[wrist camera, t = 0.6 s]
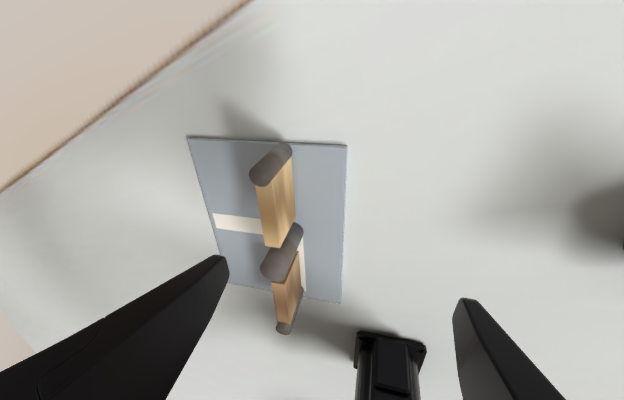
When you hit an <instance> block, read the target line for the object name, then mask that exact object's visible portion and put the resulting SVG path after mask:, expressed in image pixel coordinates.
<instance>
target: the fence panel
mask: <svg viewBox="0 0 624 400" xmlns="http://www.w3.org/2000/svg"><path fill="white" fill-rule="evenodd" d="M291 156H292V148H291V147H290V145H289V144H287V143H285V142H280V143H278V144H277V145H276V146H275V147H273V148H272V149H271V150H270V151H269V152H268V153H267V154H266V155H265V156H264V157H263V158H262V159H261V160H260V161H259V162H258V163H257V164H255V165H254V166H253V167H252V168H251V169H250V171H249V178H250V180H251V181H252V183H253V184H255V188H256V194H257V200H258V206H259V212H260V218H261V224H262V230H263V236H264V242H265V246H269V247H276V248H280V247H281V245H282V243H283V241H284V239H285V237H286V235H287V233H288V231H289V229H290V228H291V226H292V224H293V222H294V220H295V218H296V210H295V197H294V184H293V172H292V159H291Z"/></svg>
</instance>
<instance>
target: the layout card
mask: <svg viewBox="0 0 624 400" xmlns="http://www.w3.org/2000/svg"><path fill="white" fill-rule="evenodd" d="M187 140H188V144H189V147H190V151H191V154H192V158H193V161H194V164H195V168H196V171H197V175H198V178H199V182H200V185H201V188H202V192H203V195H204V199H205V202H206V206H207V209H208V212H209V216H210V219H211V223H212V226H213V230H214V233H215V237H216V240H217V243H218V247H219V250H220V254H221V256H224V257H225V258H226V260H227V264H228V267H229V271H230V276H229V279H228V281H229V283H232V284H237V285H242V286H248V287H253V288H258V289H263V290H269V291H273V290H272V284H271V282H272V281H271V280H269V279H267V278H265V277H264V276H263V275H262V273H261V272H260V265H261V263H262V262H263V260H264V258H265V256H266V255H267V253H268V251H269V249H270V247H269V246H265V242H264V236H263V230H262V224H261V218H260V212H259V206H258V200H257V194H256V188H255V184H253V183H252V181H251V180H250V178H249V171H250V169H251V168H252V167H253V166H254V165H255V164H257V163H258V162H259V161H260V160H261V159H262V158H263V157H264V156H265V155H266V154H267V153H268V152H269V151H270V150H271V149H272V148H273V147H275V146H276V145H277V144H278V143H280V142H266V141H247V140H228V139H208V138H189V139H187ZM287 144H289V145H290V147H291V148H292V156H291V159H292V172H293V184H294V197H295V210H296V218H295V220H294V222H295V223H298V224H299V225H300V226H301V227H302V228H303V231H304V234H303V237H302V239H301V242H300V244H299V246H298V249H297V251H299V262H300V275H301V286H302V287H303V288H304V292H303V295H302V297H306V298H311V299H316V300H322V301H327V302H332V303H338V304H340V302H341V285H342V261H343V238H344V214H345V190H346V166H347V146H343V145H324V144H305V143H287Z"/></svg>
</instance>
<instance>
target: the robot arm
mask: <svg viewBox="0 0 624 400" xmlns="http://www.w3.org/2000/svg"><path fill="white" fill-rule="evenodd" d="M229 276H230V271H229V267H228V264H227V260H226V258H225V257H224V256H220V255H212V256H211V257H209V258H207V259H205V260H204V261H202V262H200V263H198V264H197V265H195V266H193V267H191V268H190V269H188V270H186V271H184V272H183V273H181V274H179V275H177V276H175V277H174V278H172V279H170V280H168V281H167V282H165V283H163V284H161V285H160V286H158V287H156V288H154V289H153V290H151V291H149V292H147V293H146V294H144V295H142V296H140V297H139V298H137V299H135V300H133V301H132V302H130V303H128V304H126V305H125V306H123V307H121V308H119V309H118V310H116V311H114V312H112V313H111V314H109V315H107V316H106V317H105V318H102V319H100V320H98V321H97V322H95V323H93V324H91V325H90V326H88V327H86V328H84V329H82V330H81V331H79V332H77V333H75V334H73V335H71V336H70V337H68V338H66V339H64V340H62V341H60V342H58V343H56V344H54V345H53V346H51V347H49V348H47V349H45V350H43V351H41V352H39V353H37V354H35V355H33V356H31V357H29V358H27V359H25V360H23V361H21V362H19V363H17V364H15V365H13V366H11V367H9V368H7V369H5V370H3V371H1V372H0V400H166V398H167V396H168V394H169V393H170V391H171V389H172V387H173V385H174V384H175V382H176V380H177V378H178V377H179V375H180V373H181V371H182V369H183V368H184V366H185V364H186V362H187V361H188V359H189V357H190V355H191V353H192V352H193V350H194V348H195V346H196V345H197V343H198V341H199V339H200V338H201V336H202V334H203V332H204V330H205V329H206V327H207V325H208V323H209V321H210V320H211V318H212V315H213V313H214V311H215V309H216V307H217V304H218V302H219V300H220V298H221V295H222V293H223V291H224V289H225V286H226V284H227V282H228V279H229ZM452 323H453V332H454V342H455V351H456V360H457V369H458V377H459V382H460V387H461V392H462V396H463V400H566V399H565V398H564V397H563V396H562V395H561V394H560V393H559V392H558V390H557V389H556V388H555V387H554V386H553V385H552V384H551V383H550V381H549V380H548V379H547V378H546V377H545V376H544V375H543V374H542V373H541V371H540V370H539V369H538V368H537V367H536V366H535V365H534V364H533V362H532V361H531V360H530V359H529V358H528V357H527V356H526V355H525V353H524V352H523V351H522V350H521V349H520V348H519V347H518V346H517V345H516V343H515V342H514V341H513V340H512V339H511V338H510V337H509V336H508V334H507V333H506V332H505V331H504V330H503V329H502V328H501V327H500V325H499V324H498V323H497V322H496V321H495V320H494V319H493V318H492V317H491V315H490V314H489V313H488V312H487V311H486V310H485V309H484V308H483V306H482V305H481V304H480V303H479V302H478V301H476V300H474V299H468V298H460V299H459V301H458V304H457V306H456V309H455V311H454V313H453V318H452ZM426 353H427V350H426V346H425V345H423V344H419V343H414V342H409V341H405V340H400V339H395V338H390V337H385V336H381V335H376V334H371V333H366V332H361V331H360V332H357V336H356V346H355V356H354V368H355V369H357V378H356V390H355V400H421V398H420V388H419V377H418V375H419V372H420V369H421V366H422V364H423V361H424V358H425V356H426Z"/></svg>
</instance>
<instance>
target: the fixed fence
mask: <svg viewBox="0 0 624 400" xmlns="http://www.w3.org/2000/svg"><path fill="white" fill-rule="evenodd" d="M303 234H304V231H303V228H302V227H301V226H300V225H299V224H298V223H295V222H293V224H292V226H291V228H290V229H289V231H288V233H287V235H286V237H285V239H284V241H283V243H282V245H281V247H280V248H276V247H270V249H269V251H268V253H267V255H266V256H265V258H264V260H263V262H262V263H261V265H260V272H261V273H262V275H263V276H264V277H265V278H267V279H269V280H271V281H272V282H271V284H272V290H273V296H274V302H275V308H276V314H277V320H278V324H277V326H276V330H277V331H278V332H279V333H281V334H283V335H288V334H290V331H291V328H292V325H293V322H294V319H295V316H296V313H297V310H298V307H299V304H300V301H301V298H302V295H303V292H304V288H303V287H302V286H301V275H300V262H299V251H297V249H298V246H299V244H300V242H301V239H302V237H303Z"/></svg>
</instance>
